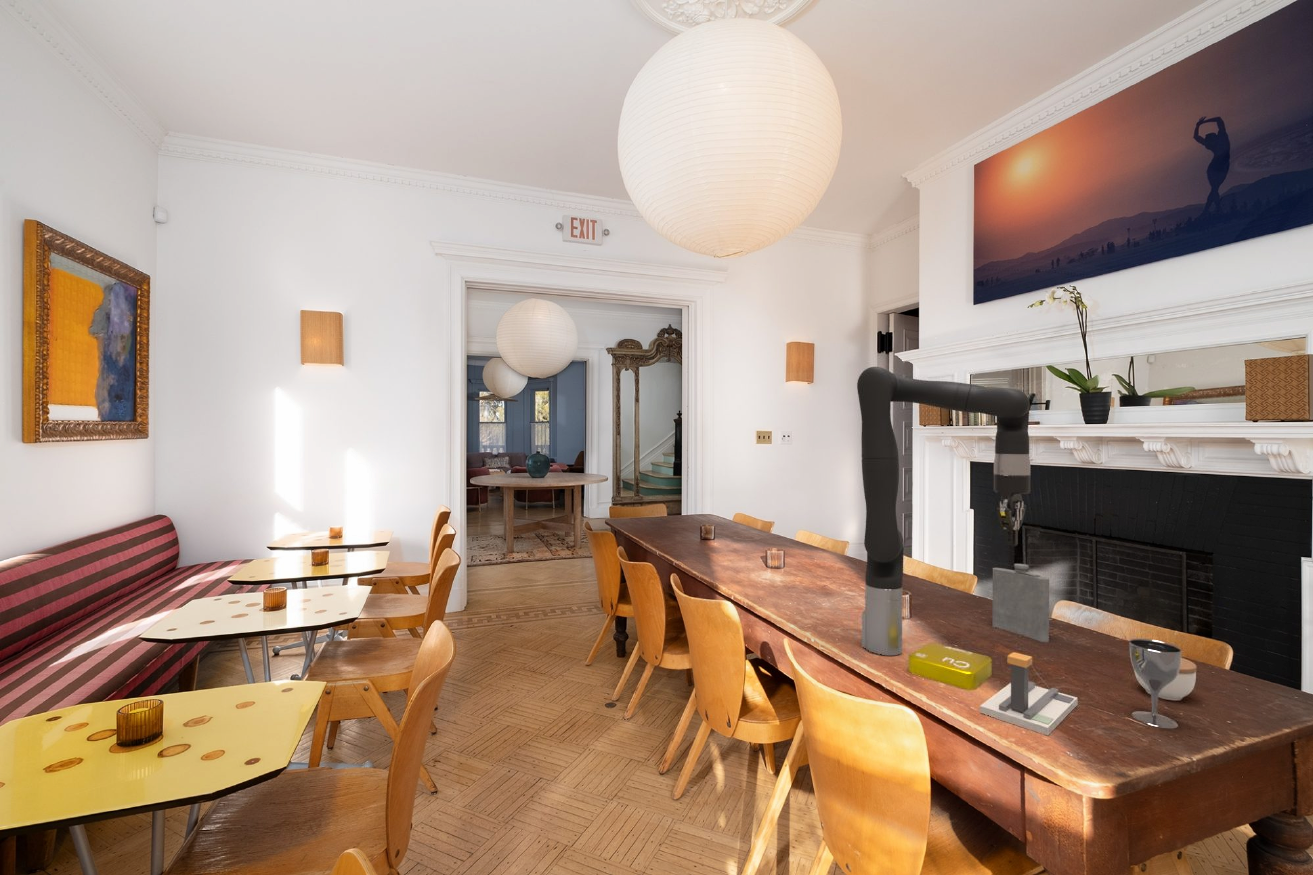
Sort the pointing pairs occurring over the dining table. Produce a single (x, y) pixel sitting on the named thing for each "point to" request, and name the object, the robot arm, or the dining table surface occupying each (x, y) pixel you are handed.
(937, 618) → the dining table surface
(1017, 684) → the lever
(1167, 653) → the wine glass
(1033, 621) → the hip flask
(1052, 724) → the switch panel
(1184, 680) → the lidded jar
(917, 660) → the element tile
